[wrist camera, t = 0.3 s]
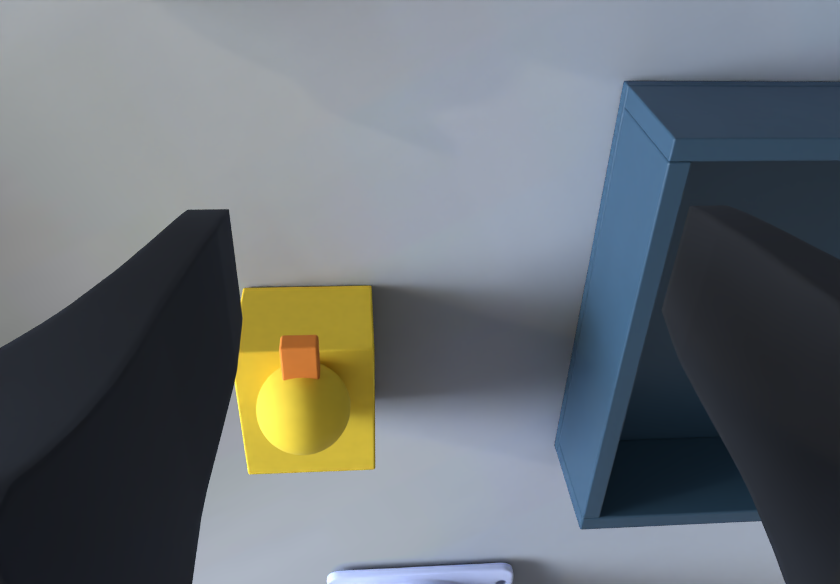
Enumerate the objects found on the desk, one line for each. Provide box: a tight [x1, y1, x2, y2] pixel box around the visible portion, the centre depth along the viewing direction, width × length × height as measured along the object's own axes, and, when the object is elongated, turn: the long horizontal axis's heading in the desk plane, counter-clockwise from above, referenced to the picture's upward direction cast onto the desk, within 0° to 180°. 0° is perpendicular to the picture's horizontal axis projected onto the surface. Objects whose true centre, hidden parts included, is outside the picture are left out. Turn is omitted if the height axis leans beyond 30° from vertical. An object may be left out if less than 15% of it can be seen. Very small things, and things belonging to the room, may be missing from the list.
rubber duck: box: [235, 286, 375, 474], centre depth 22 cm, size 6×4×5 cm, turn 178°
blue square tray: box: [555, 81, 840, 529], centre depth 23 cm, size 14×14×4 cm
